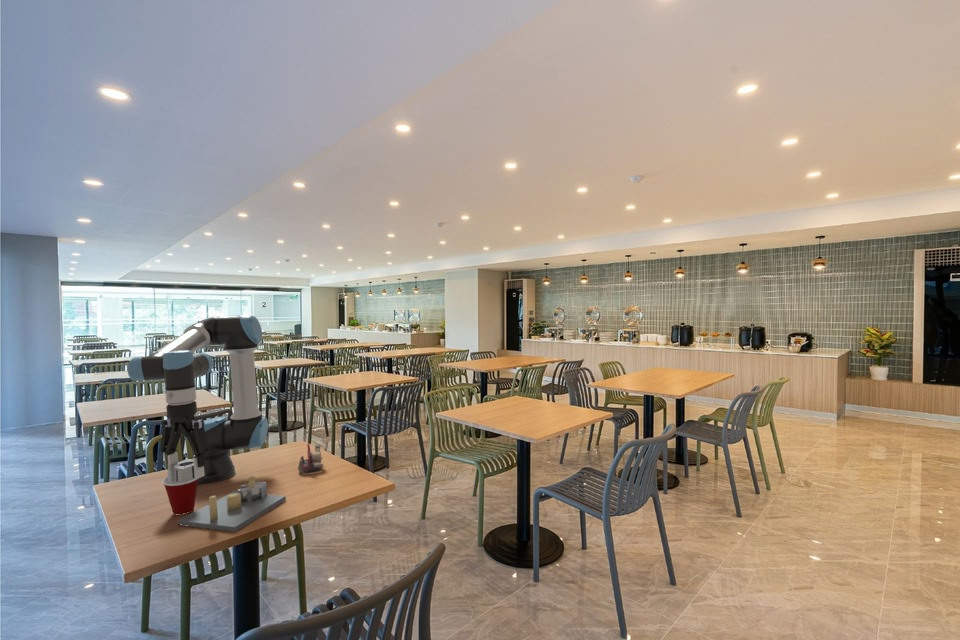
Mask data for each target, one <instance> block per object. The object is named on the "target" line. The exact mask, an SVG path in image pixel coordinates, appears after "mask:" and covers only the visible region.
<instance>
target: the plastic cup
mask: <svg viewBox="0 0 960 640" xmlns="http://www.w3.org/2000/svg"><path fill="white" fill-rule="evenodd" d="M198 480H199V478H198V479H193V480H189V481H188V482H183V483H182V482H172V483H169V481H168V475H167V476H166V477H164V478H163V479H162V480H161V482H162V485H163V487H164V488H165V490H166V491H165V492H166V493H167V495H166V496H167V497H168V498H167V499H168V501H169V505H170V507H171V511H172V513H174V514H183V513H187V512H189V513H191V512H193V511H194V509H195V506H196V505H195V502H196V497H197V488H198ZM192 510H193V511H192ZM190 511H191V512H190ZM174 514H173V515H174ZM187 514H188V513H187Z"/></svg>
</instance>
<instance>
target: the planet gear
mask: <svg viewBox="0 0 960 640" xmlns="http://www.w3.org/2000/svg"><path fill="white" fill-rule="evenodd" d="M167 476H168V481H169V483H172V482H182V483H183V482H188V481H189V480H193V479H195V477H194V463H193V458H192V459H191V458H188V459H184V460H181V461H178V462H177V463H173V464H171V465H169V468H167Z"/></svg>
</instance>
